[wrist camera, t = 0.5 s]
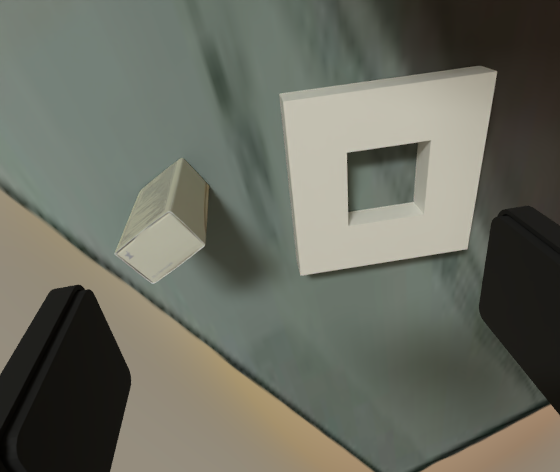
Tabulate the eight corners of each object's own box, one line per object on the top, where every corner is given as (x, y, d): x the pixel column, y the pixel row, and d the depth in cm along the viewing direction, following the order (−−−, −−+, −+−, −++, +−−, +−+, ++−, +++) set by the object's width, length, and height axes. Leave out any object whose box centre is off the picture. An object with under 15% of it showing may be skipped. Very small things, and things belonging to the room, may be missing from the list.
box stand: (279, 93, 40) (283, 101, 37) (480, 65, 40) (497, 71, 38) (296, 260, 50) (300, 275, 48) (455, 235, 51) (467, 249, 49)
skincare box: (168, 217, 45) (152, 287, 35) (137, 189, 43) (110, 255, 33) (211, 184, 44) (208, 247, 33) (182, 153, 42) (169, 210, 31)
